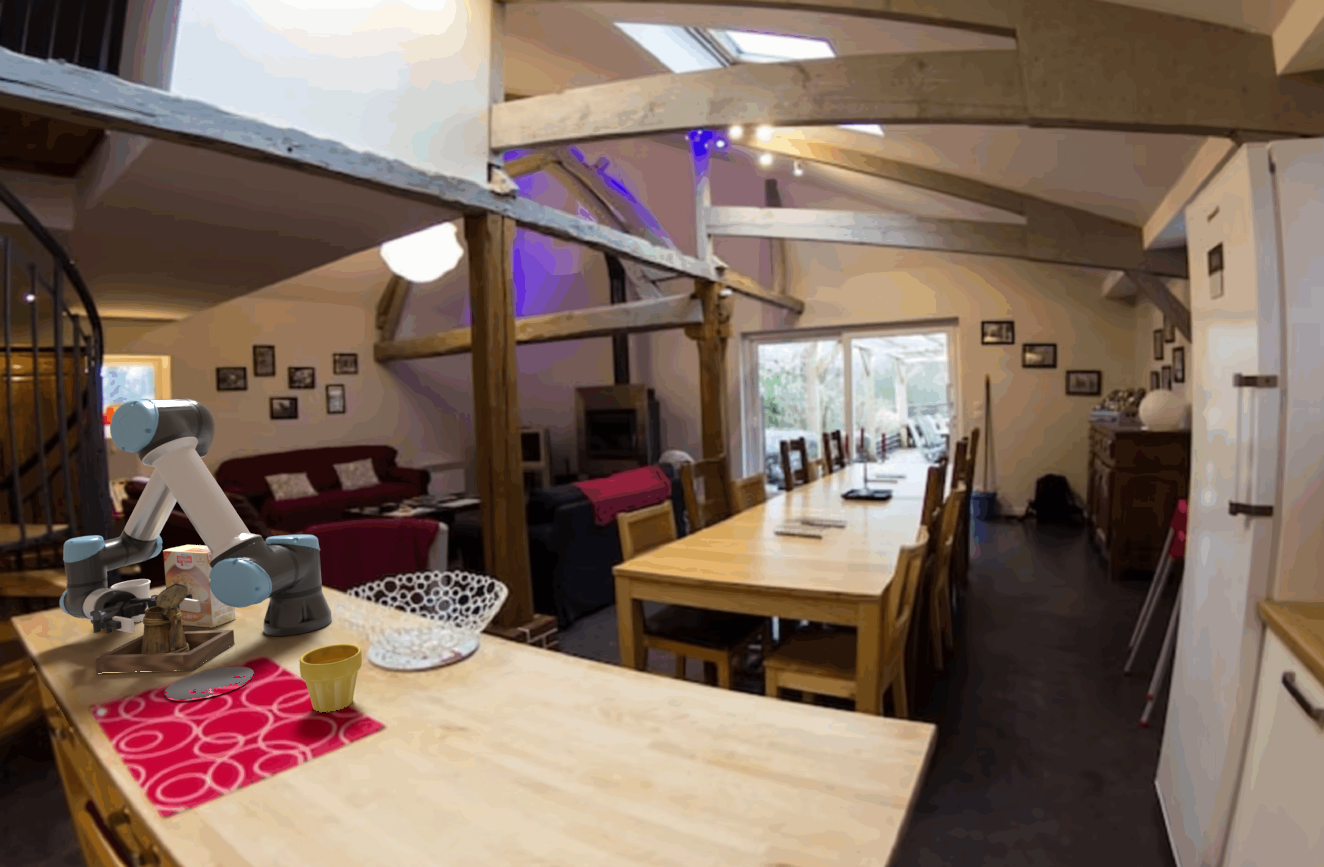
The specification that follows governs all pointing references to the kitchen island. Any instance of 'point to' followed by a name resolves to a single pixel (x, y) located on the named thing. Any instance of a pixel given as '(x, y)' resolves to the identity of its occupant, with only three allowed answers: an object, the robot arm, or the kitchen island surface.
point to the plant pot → (331, 675)
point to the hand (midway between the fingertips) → (166, 615)
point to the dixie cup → (135, 591)
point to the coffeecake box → (196, 585)
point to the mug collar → (166, 654)
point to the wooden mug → (165, 623)
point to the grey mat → (207, 682)
